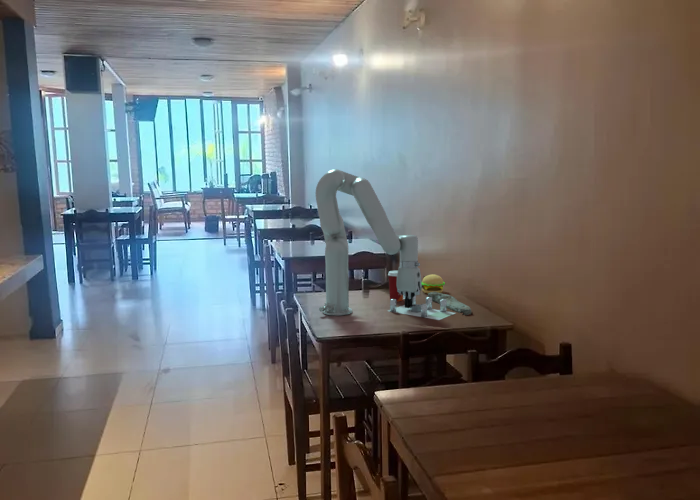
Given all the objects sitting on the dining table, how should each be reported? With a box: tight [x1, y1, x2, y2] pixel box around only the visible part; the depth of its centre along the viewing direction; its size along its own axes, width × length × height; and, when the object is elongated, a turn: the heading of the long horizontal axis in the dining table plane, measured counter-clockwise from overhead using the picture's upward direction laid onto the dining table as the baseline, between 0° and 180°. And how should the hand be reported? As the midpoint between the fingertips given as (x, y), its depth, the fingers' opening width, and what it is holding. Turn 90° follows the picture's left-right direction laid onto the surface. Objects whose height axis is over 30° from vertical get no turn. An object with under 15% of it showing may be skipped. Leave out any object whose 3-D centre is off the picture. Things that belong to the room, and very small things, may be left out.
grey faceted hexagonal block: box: [410, 303, 421, 313], centre depth 246 cm, size 4×5×2 cm
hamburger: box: [421, 273, 446, 294], centre depth 288 cm, size 12×12×9 cm
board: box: [387, 304, 456, 321], centre depth 245 cm, size 14×25×1 cm, turn 52°
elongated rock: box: [427, 291, 472, 316], centre depth 260 cm, size 35×5×10 cm
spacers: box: [389, 295, 448, 318], centre depth 246 cm, size 15×20×5 cm
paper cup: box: [387, 270, 404, 302], centre depth 267 cm, size 8×8×14 cm
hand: (408, 307), depth 249 cm, fingers closed
